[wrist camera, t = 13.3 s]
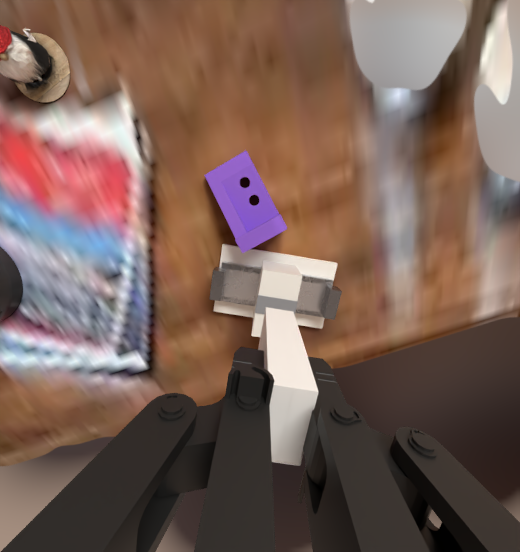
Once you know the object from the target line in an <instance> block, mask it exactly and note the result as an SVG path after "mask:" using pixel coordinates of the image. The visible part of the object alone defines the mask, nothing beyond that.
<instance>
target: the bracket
mask: <svg viewBox="0 0 520 552" xmlns="http://www.w3.org/2000/svg"><path fill="white" fill-rule="evenodd" d="M205 177H206V179H207V181H208V183H209V185H210V188H211V190H212V192H213V194H214V196H215V198H216V200H217V202H218V204H219V206H220V208H221V210H222V212H223V214H224V216H225V218H226V220H227V222H228V224H229V226H230V228H231V230H232V232H233V234H234V236H235V238H236V239H235V241H236V243H237V245H238V246H239V248H240V250H241V252H242V253H244V252H246V251H248V250H250V249H252V248H253V247H255V246H257V245H259V244H261V243H263V242H265V241H266V240H268V239H270V238H272V237H274V236H276V235H277V234H279V233H281V232H283V231H284V230H286V229H287V227H286V225H285V223H284V221H283V219H282V217H281V215H280V214H279V213H278V211H277V209H276V207H275V205H274V203H273V201H272V199H271V198H270V196H269V194H268V192H267V190H266V188H265V186H264V184H263V182H262V180H261V178H260V176H259V174H258V172H257V170H256V168H255V166H254V164H253V163H252V161H251V159H250V157H249V155H248V153H247V151H244V152H243V153H241V154H239V155H238V156H236V157H234V158H233V159H231V160H229V161H228V162H226V163H224V164H223V165H221V166H219V167H217V168H216V169H214V170H212V171H211V172H209V173H207V174H206V175H205ZM243 177H247V178H248V179H249V180H250V185H249V187H247V188H243V187H241V186H240V179H241V178H243ZM252 195H257V196H258V197H259V203H258V204H257V205H255V206H253V205H251V204H250V202H249V198H250V196H252Z"/></svg>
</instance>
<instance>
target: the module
mask: <svg viewBox="0 0 520 552" xmlns="http://www.w3.org/2000/svg"><path fill="white" fill-rule="evenodd" d="M301 281H302V275H301V273H300V272H299V270H298V268H297V267H296V266H295V265H289V264H283V263H277V262H271V261H265V260H263V261H262V267H261V273H260V279H259V285H258V291H257V296H256V302H255V308H254V314H253V323H252V334H251V336H255V337H260V336H261V331H262V325H263V320H264V314H265V309H266V307H268V308H274V309H281V310H287V311H293V312H294V315H295V312H296V307H297V303H298V301H297V300H298V295H299V291H300V286H301Z"/></svg>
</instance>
